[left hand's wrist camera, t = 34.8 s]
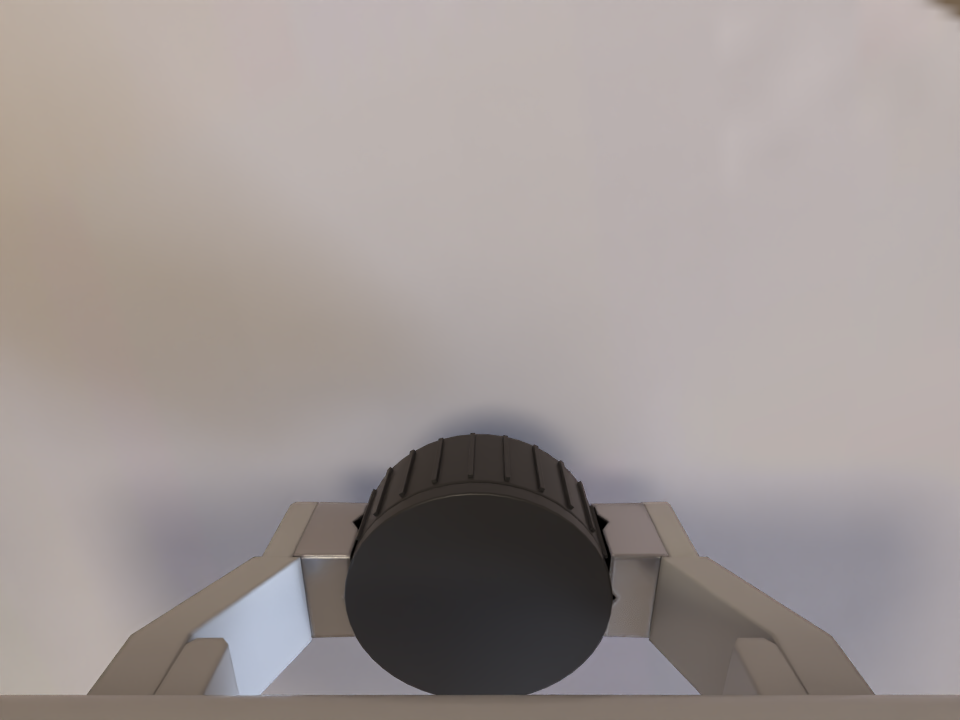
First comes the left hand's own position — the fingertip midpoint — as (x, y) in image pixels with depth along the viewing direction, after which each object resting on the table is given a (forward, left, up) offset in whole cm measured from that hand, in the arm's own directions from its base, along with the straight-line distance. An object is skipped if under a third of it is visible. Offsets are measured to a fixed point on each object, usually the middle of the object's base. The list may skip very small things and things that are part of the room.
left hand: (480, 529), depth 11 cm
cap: (0, 0, +2) cm, 2 cm away
